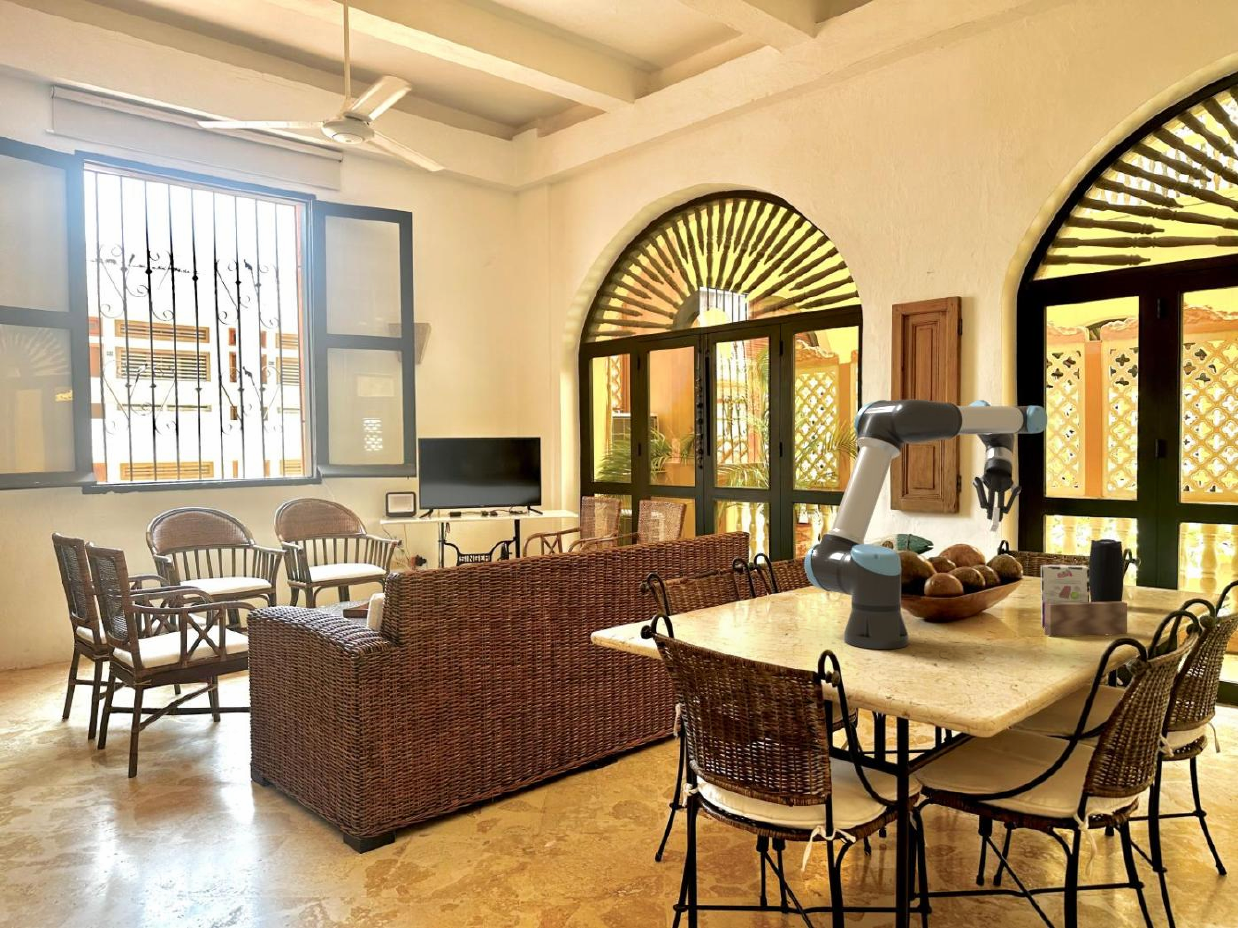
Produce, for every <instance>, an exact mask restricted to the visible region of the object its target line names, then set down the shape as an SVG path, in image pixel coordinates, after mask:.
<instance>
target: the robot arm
mask: <svg viewBox="0 0 1238 928" xmlns="http://www.w3.org/2000/svg"><path fill="white" fill-rule="evenodd" d="M1046 411H1047V410H1045V408H1044V407H1043V406H1039V405H1026V406H1025V405H1023V406H1022V405H1020V406H1017V405H1016V406H1015V405H1014V406H1012V405H1008V406H1007V405H1005V406H1003V405H1002V406H1001V405H999V406H998V405H997V406H996V405H990V404H989V403H988V402H987V401H986V400H984V399H980V400H979V399H978V400H976V401H973V402H971V403H970V404H969V405H967V406H966V405H957V404H956V403H954V402H949V401H948V402H947V401H945V402H944V401H935V400H926V399H919V398H917V399H916V398H909V399H896V400H893V399H892V400H884V399H880V400H876V401H870V402H868V403H865V404H864V405H863V406H862V407H861V408H860V409H859V411H858V412H857V413H856V415H855V418H854V423H853V424H854V425H853V428H855V429H854V434H855V437H856V438H857V439H856V443H857V445H858V447H859V451H858V454H857V457H856V459H855V462H854V465H853V468H852V471H851V473H850V476H849V480H848V482H847V485H846V488H845V491H844V493H843V496H842V499H841V501H840V504H839V508H838V510H837V513H836V516H835V519H834V521H833V523H832V527H831V529H830V530H828V531H826V532H825V533H823V535H822V538H821V541H820V542H819V543H817V544H815V545H813V546H811V547H810V548H809V549H808V550H807V552H806V553H805V558H804V564H803V565H804V572H805V574H806V577H807V579H808V581H809V582H810V584H812V585H813V586H814V587H816V588H818V589H821V590H823V591H825V592H831V593H839V594H845V595H848V596H851V611H850V613H849V617H848V620H847V623H846V625H845V630H844V635H843V636H844V637H843V640H844V642H845V643H846V644H848V645H851V646H854V647H859V648H863V649H872V650H895V649H901V648H906V647H908V646H909V641H910V639H909V637H910V636H909V632H908V629H907V627H906V624H905V620H904V618H903V614H902V605H901V604H902V565H901V563H902V562H901V556H900V554H899V552H897V551H896V550H894V549H893V548H890V547H886V546H883V545H874V544H865V542H864V540H865V537H866V534H867V532H868V529H869V527H870V523H871V519H872V517H873V515H874V512H875V509H876V506H877V503H878V500H879V498H880V495H881V491H882V489H883V486H884V484H885V480H886V477H887V474H888V471H889V468H890V465H891V463H892V460H893V459H896V458H897V457H899V456H900V455H901V453H902V450H903V446H904V445H908V444H909V445H910V444H911V445H912V444H922V443H927V442H934V441H940V440H951V439H953V438H955V437H957V436H966V435H969V436H970V435H976V436H977V437H978V438H979V439H980V441H981V443H982V444H983V445H984V446H985V457H984V466H983V475H982V476H981V477H979V476H974V480H973V481H972V485H973V487H974V488H975V489H976V494H977V497H978V503H979V506H980V508H981V509H982V510H983V509H984V510H986V519H987V520H990V526H989V531H990V532H993V533H996V532H997V530H998V528H999V524H1000V523H1001V522H1002V520H1003V519H1004V514H1005V515H1009V513H1010V510H1011V509H1012V506H1013V504H1014V502H1015V499H1016V497H1017V496H1019V495H1020V493H1021V490H1023V489H1022V488H1023V487H1022V485H1016V484H1014V483H1015V482H1014V480H1013V469H1014V468H1013V467H1014V466H1013V465H1014V449H1015V447H1014V446H1015V434H1039V433H1042V432H1043V431H1045V429H1046V428H1047V425H1048V413H1047V412H1046ZM984 486H985V487H984ZM985 488H986V489H987V490H988V491H987V492H988V493H987V494H988V495H986V491H985ZM1009 490H1010V492H1011V494H1010V496H1009V499H1008V501H1007V503H1006V505H1005V498H1006V497H1005V496H1006V492H1007V491H1009ZM996 493H997V507H996V506H995V501H996V500H995V499H996Z"/></svg>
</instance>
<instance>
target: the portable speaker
mask: <svg viewBox="0 0 1238 928" xmlns="http://www.w3.org/2000/svg"><path fill="white" fill-rule="evenodd" d="M1090 541H1091V543H1090V544H1091V545H1090V550H1089V551H1090V552H1089V560H1088V561H1089V562H1088V563H1089V564H1088V565H1089V566H1088V568H1089V600H1090V602H1112V601H1122V602H1123V594H1124V593H1123V592H1124V554H1123V546H1122V545H1123V544H1122V542H1123V541H1117V540H1115V539H1110V538H1109V539H1108V538H1101V539H1099V540H1098V539H1097V540H1095V539H1091V540H1090Z"/></svg>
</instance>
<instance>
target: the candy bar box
mask: <svg viewBox="0 0 1238 928" xmlns="http://www.w3.org/2000/svg"><path fill="white" fill-rule="evenodd" d="M1089 589H1090V588H1089V566H1088V565H1079V564H1078V565H1077V564H1047V563H1046V564H1040V608H1041V609H1040V610H1041V611H1040V612H1041V613H1040V617H1041V618H1040V620H1041V621H1040V622H1041V626H1042V627H1041V628H1043V629H1045V628H1044V627H1045V603H1069V602H1090V592H1089Z"/></svg>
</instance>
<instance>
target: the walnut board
mask: <svg viewBox="0 0 1238 928" xmlns="http://www.w3.org/2000/svg"><path fill="white" fill-rule="evenodd" d="M1106 634H1112V635H1111V636H1118V635H1117V634H1127V635H1128V602H1124V601H1123V600H1122V601H1112V602H1091V601H1089V602H1069V603H1045V628H1044V635H1045V636H1047V635H1049V636H1048V637H1050V636H1059V637H1076V636H1075V635H1098V636H1107V635H1106ZM1069 635H1070V636H1069Z"/></svg>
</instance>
